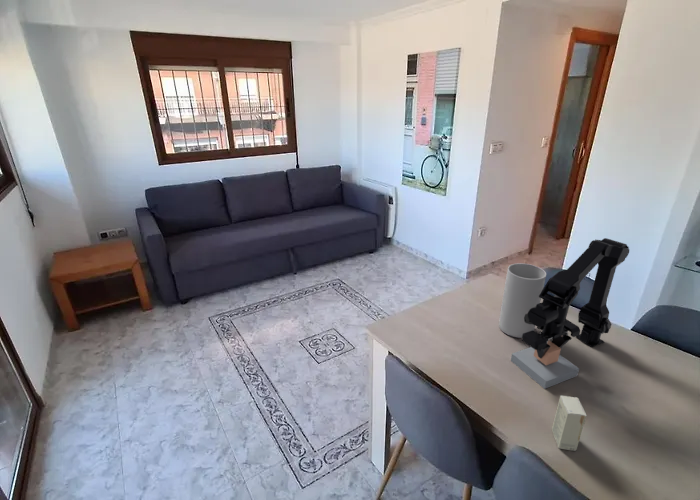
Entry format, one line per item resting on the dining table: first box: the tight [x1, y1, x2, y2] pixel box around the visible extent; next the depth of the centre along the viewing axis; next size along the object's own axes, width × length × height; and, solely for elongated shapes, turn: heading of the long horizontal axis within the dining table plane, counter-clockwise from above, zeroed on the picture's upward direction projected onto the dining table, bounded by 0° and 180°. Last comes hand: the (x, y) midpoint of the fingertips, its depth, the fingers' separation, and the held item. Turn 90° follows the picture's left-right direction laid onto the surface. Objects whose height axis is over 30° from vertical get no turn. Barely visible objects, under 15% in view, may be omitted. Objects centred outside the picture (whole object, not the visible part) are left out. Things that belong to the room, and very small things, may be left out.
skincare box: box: [551, 394, 587, 451], centre depth 94 cm, size 6×4×12 cm
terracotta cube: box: [534, 340, 562, 365], centre depth 118 cm, size 5×5×5 cm
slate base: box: [510, 346, 580, 389], centre depth 120 cm, size 14×14×3 cm
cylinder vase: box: [498, 262, 547, 339], centre depth 136 cm, size 12×12×25 cm
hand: (546, 355), depth 119 cm, fingers closed on terracotta cube, 5 cm apart
